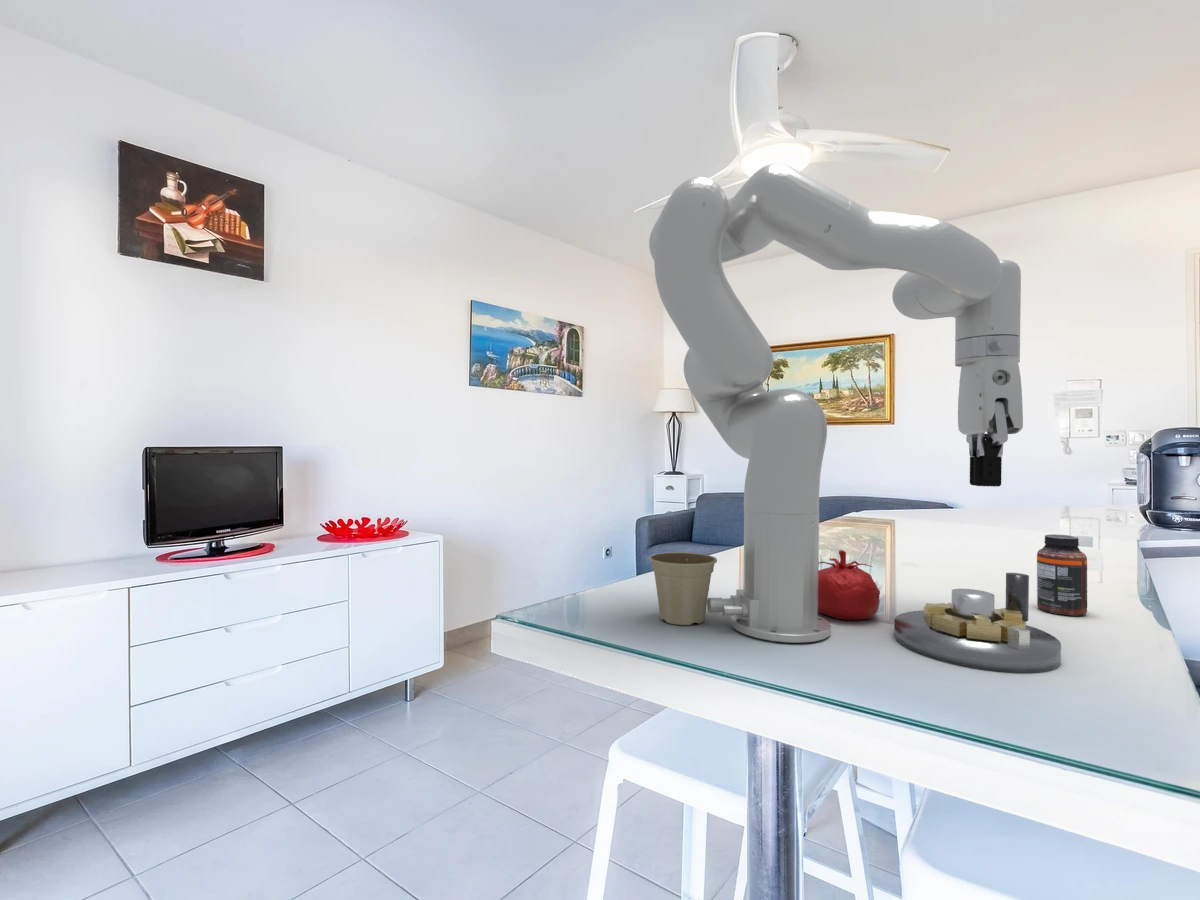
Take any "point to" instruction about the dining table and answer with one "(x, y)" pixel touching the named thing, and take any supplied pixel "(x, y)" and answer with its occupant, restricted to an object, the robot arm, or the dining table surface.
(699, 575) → the flower pot
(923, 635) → the dark oval platter
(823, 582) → the pomegranate
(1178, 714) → the dining table surface
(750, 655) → the dining table surface
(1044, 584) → the supplement bottle
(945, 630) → the gold segmented ring
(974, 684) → the dining table surface
